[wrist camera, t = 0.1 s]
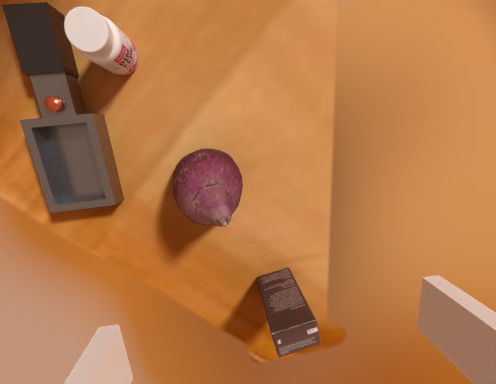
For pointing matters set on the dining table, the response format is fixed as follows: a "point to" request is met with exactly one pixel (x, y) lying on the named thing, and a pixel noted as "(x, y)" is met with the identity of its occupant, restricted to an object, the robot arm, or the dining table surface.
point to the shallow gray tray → (61, 116)
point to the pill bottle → (100, 41)
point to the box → (288, 313)
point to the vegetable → (207, 187)
